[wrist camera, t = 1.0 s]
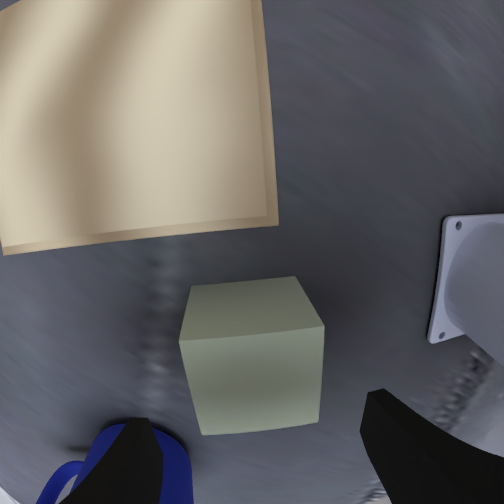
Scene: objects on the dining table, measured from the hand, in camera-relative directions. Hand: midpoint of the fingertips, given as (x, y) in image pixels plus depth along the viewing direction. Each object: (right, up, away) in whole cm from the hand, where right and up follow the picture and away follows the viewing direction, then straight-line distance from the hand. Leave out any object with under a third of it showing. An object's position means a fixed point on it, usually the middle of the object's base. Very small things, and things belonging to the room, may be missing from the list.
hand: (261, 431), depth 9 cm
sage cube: (-1, +2, +7) cm, 7 cm away
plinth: (-6, +13, +3) cm, 15 cm away
